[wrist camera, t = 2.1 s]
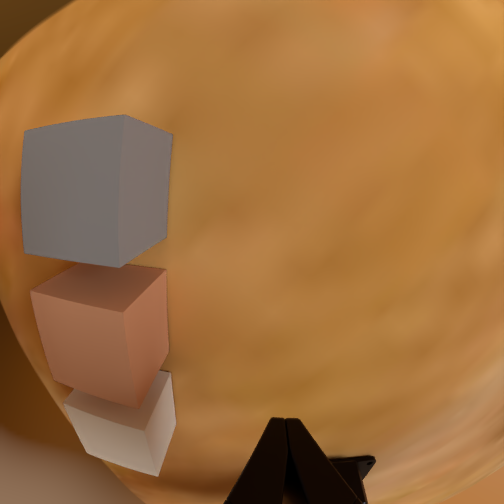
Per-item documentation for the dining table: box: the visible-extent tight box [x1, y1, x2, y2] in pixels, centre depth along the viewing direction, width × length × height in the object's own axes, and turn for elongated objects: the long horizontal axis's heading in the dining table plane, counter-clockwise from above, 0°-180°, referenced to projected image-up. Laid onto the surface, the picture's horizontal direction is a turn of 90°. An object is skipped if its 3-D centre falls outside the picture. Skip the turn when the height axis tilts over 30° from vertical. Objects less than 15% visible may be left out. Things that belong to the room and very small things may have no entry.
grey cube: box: [21, 115, 173, 268], centre depth 10 cm, size 4×4×4 cm
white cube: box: [63, 370, 176, 477], centre depth 13 cm, size 4×4×4 cm
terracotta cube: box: [30, 262, 169, 409], centre depth 11 cm, size 4×4×4 cm
